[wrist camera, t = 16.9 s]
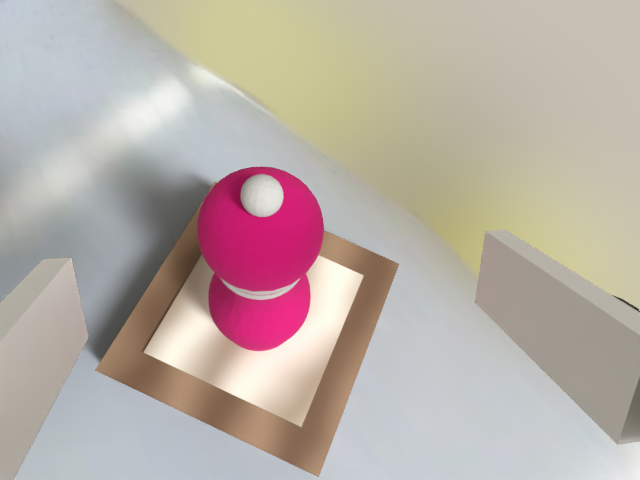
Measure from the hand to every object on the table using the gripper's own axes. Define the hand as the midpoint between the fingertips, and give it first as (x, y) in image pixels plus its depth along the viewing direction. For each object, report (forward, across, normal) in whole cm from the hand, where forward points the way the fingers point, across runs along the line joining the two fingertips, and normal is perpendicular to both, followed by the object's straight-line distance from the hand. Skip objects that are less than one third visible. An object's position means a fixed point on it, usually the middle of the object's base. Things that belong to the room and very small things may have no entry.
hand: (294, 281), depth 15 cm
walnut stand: (+22, -1, -15) cm, 27 cm away
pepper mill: (+19, -1, -12) cm, 22 cm away
